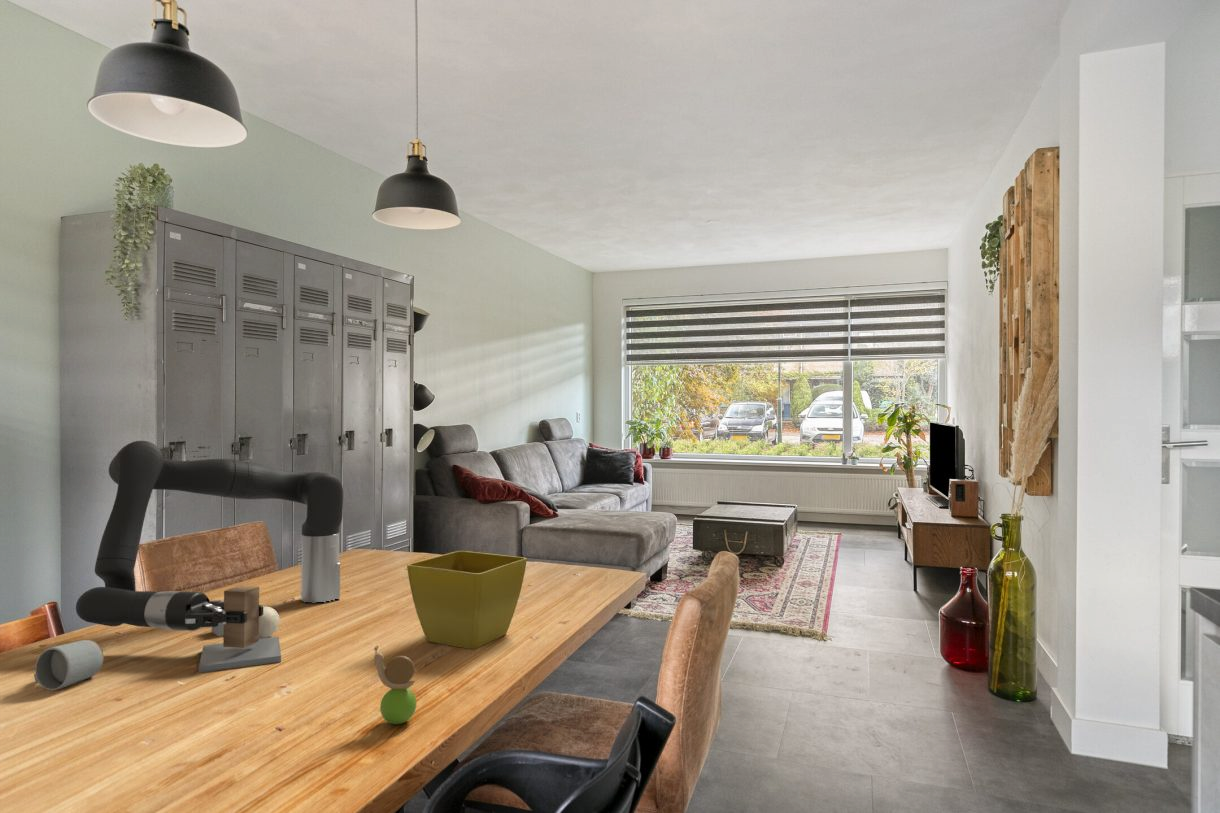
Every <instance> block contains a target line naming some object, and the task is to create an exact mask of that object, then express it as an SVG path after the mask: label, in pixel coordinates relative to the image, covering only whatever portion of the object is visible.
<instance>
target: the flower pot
mask: <svg viewBox="0 0 1220 813" xmlns="http://www.w3.org/2000/svg"><path fill="white" fill-rule="evenodd" d="M406 567H407V574H408V576H407V577H408V581H409V582H408V583H409V586H410V592H411V596H412V601H413V604H414V608H415V610H416V611H415V612H416V614H417V618H418V620H419V623H420V626H421V628H422V631H423V632H422V633H423V634H424V636H425V639H426V641H427V642H431V643H437V644H440V645H448V646H453V647H456V648H457V647H459V648H462V649H463V648H464V649H469V650H476V649H479V648H481V647H482V646H485V645H486V644H489V643H491V642H493V641H494V640H497V639H499V638H501V637H502V636H505V635H506V634H507V633H508V630H509V628H510V627H511V626H510V625H511V622H512V619H513V618H514V614H515V611H516V609H517V605H518V602H519V599H520V595H521V590H522V587H523V584H524V583H523V582H524V578H525V573H526V568H527V557H523V556H515V555H514V556H513V555H507V554H505V555H504V554H495V553H487V552H477V551H468V550H456V551H453V552H448V553H444V554H441V555H438V556H434V557H430V558H426V559H422V560H418V561H415V562H411V563H408V564H407V565H406Z"/></svg>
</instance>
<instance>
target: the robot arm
mask: <svg viewBox="0 0 1220 813" xmlns="http://www.w3.org/2000/svg"><path fill="white" fill-rule="evenodd" d="M108 466H109V467H108V474H109V477H110V478H111V479H112V481H113V482H114V483H115V484H117V491H116V495H115V500H114V502H113V506H112V509H111V512H110V515H109V517H108V519H107V522H106V525H105V528H104V531H103V534H102V535H101V539H100V544H99V548H98V552H97V555H96V561H95V565H94V574H95V575H96V576H97V577H98V578H99V579H101V580H102V581H103V583H104V586H98V587H97V586H96V587H93V588H91V589H88V590H86V591H85V592H84V593H82V595H80V596H79V597H78V599H77V601H76V604H75V610H76V611H75V612H76V614H77V616H78V617H79V618H80V619H81V620H82V621H85V622H86V623H91V624H95V625H96V624H97V625H102V626H107V627H119V626H121V625H123V624H125V625H129V626H134V627H141V628H142V627H146V628H155V629H156V628H157V629H160V630H161V629H162V630H175V631H176V630H177V631H191V632H192V631H197V630H199V629H201V628H212V627H216V626H218V624H223V625H224V624H227V622H228V623H238V624H244V623H246V622H247V612H243V611H227V610H224V600H221V599H212V600H210V599H209V597H208V596H207V594H205V593H204V592H200V591H198V592H197V591H183V590H181V591H179V590H178V591H177V590H167V591H153V590H151V591H150V590H142V591H139V590H136V577H135V566H136V562H137V559H138V558H137V557H138V553H139V548H140V547H139V546H140V543H141V537H142V532H143V527H144V523H145V518H146V513H147V509H148V505H149V504H150V503H149V502H150V498H151V496H152V493H153V490H157V491H158V490H160V491H161V490H162V491H163V490H164V491H165V490H166V491H178V492H185V493H186V492H187V493H193V494H200V495H207V496H217V497H221V498H228V499H229V498H230V499H231V498H232V499H237V500H238V499H240V500H271V499H275V500H276V499H278V500H285V501H289V502H294V503H299V504H302V505H306V507H307V508H306V518H305V521H304V522H303V523H302V526H301V568H300V569H301V574H300V577H301V578H300V580H301V585H300V586H301V587H300V589H301V590H300V600H302V601H304V602H303V603H305V602H312V603H311V604H317V603H316V602H324V603H327V602H326V601H329V602H332V601H331V600H333V601H336V600H335V599H339V600H340V599H341V562H340V526H341V524H342V522H343V509H344V507H343V506H344V487H343V484H342V482H341V480H340V479H339V477H337V476H336V475H334V474H332V473H327V472H326V473H325V472H316V471H313V472H307V471H305V472H302V471H287V470H280V469H277V468H274V467H271V466H268V465H264V464H259V463H256V462H250V461H243V460H238V459H237V460H236V459H231V458H230V459H229V458H207V459H197V460H177V459H170V458H164V454H163V452H162V450H161V449H160V447H158V446H157V445H156V443H155V444H154V443H153V442H151V441H146V440H136V441H132V442H130V443H127V444H126V445H124V446H123V447H122V448H121V449H120V450H118V452H117V453H116V455H114V457H113V458H112V460H111V461H110V463H109V465H108ZM302 601H301V602H302ZM263 607H264V605H262V604H259V617H260V616H262V615H263Z"/></svg>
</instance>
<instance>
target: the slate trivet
mask: <svg viewBox="0 0 1220 813" xmlns="http://www.w3.org/2000/svg"><path fill="white" fill-rule="evenodd" d="M280 644H281V642H280V637H279V636H270V637H267V638H261V639H259V641H258V642H256V643H253V644H251V645H249V646H247V647H245V648H236V647H223V642H221V643H212V644H204V645H203V646H202V651H201V655H200V660H199V664H198V673H199V674H201V673H208V672H216V671H223V670H230V669H238V668H246V667H252V666H253V667H254V666H260V665H268V664H274V663H281V662H282V652H281V646H280Z"/></svg>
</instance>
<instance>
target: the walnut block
mask: <svg viewBox="0 0 1220 813" xmlns="http://www.w3.org/2000/svg"><path fill="white" fill-rule="evenodd" d="M223 601H224V610H227V611H243V612H247V622H246V623H244V624H238V623H228V622H227V624H224V636H222V637H223V642H222V643H223V647H236V648H245V647H247V646H249V645H251V644H253V643H256V642H258V641H259V605H260V586H255V585H254V586H253V585H238V586H234V587H231V588H228V589H225V590H224V591H223Z"/></svg>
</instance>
